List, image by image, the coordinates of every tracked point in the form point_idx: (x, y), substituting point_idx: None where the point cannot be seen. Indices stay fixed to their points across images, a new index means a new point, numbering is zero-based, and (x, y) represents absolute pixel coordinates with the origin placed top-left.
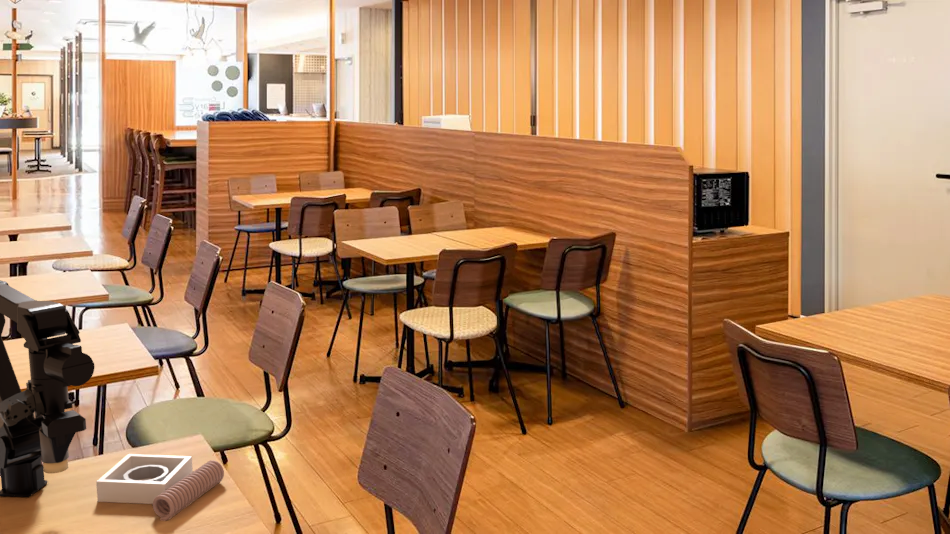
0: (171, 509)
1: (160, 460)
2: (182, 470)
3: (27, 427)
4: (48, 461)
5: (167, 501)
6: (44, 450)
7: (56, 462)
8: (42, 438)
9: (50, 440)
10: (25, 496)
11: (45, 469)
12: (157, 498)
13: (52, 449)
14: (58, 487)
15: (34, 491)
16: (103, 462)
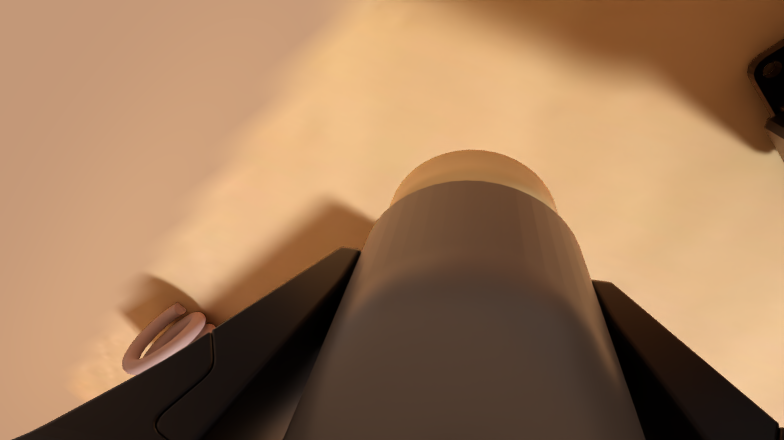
0: (132, 343)
1: None
2: None
3: None
4: (391, 212)
5: (123, 359)
6: (404, 264)
7: (343, 248)
8: (391, 399)
9: (129, 415)
10: (767, 50)
11: (453, 162)
12: (151, 355)
13: (275, 318)
14: (716, 212)
15: (770, 108)
16: (773, 412)
